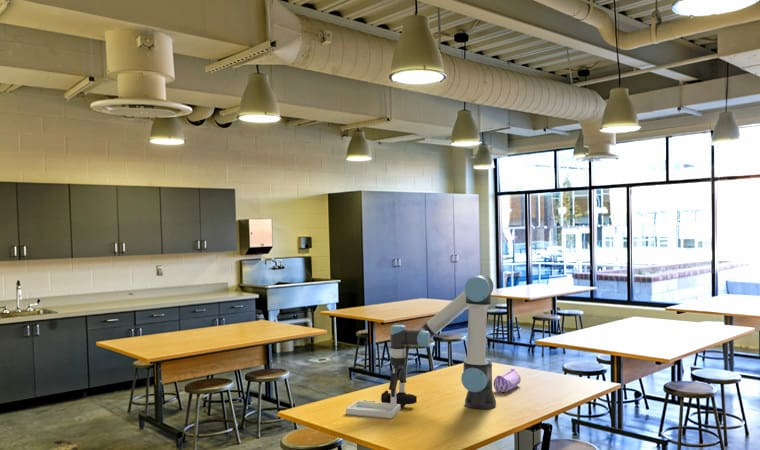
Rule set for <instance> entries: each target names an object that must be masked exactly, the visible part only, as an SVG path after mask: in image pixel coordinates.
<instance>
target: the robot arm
mask: <svg viewBox="0 0 760 450" xmlns="http://www.w3.org/2000/svg"><path fill="white" fill-rule="evenodd" d="M493 291H494V282H493V280H492V278H491V277H490V276H487V275H486V274H476V275H473V276H470V277H469V278H468V279H467V280H466V282H465V285H464V288H463V292H461V293H460V294H459V295H458V296H456V297H455V298H454V299H453V300H451V302H449V303H448V304H446V306H444V307H443V308H442V309H440V311H439V312H437V313H436V314H435V315H434V316H432V317H431V318H430V319H429V320H428V321H426V322H425V323H424V324H423V325H421V327H419V328H418V329H407V327H406V325H405V324H393V325H391V327H390V334H389V335H390V339H389V340H390V349H389V352H390V357H389V358H390V359H389V361H390V362H389V363H390V365H391V366H393V368H391V371H390V372H391V373H390V380H389V387H388V391H389V390H390V393H391V403H393V404H396V393H398V392H400V393H401V392H403V393H404V392H405V393H406V391H405V390H406V389H405V388H406V386H405V385H406V384H407V377H406V369H405V365H406V363H407V361H406V359H407V358H406V355H407V354H406V352H407V350H406V349H407V348H406V346H413V347H415V346H416V347H428V346H429V345H430V344H431V339H433V337H434V336H436V335H437V334H438V333H439V332H440V331H442V330H443V329H444V328H445V327H446V326H448V325H449V324H450V323H451V322H454V321H453V320H455V319H457V317H459V316H460V315H461V314H462V313H463V312H465V311H467V309H468V315H467V317H468V318H467V320H468V321H467V322H468V323H467V345H466V346H467V348H466V349H467V351H466V353H467V354H466V358H464V360H463V367H462V368H463V372H462V374H461V377H460V379H461V384H462V386H463V388H465V389H466V390H467V392H466V394H465V395H466V396H465V399H464V405H465V406H466V407H467V408H471V409H475V410H476V409H477V410H490V409H493V408H496V407H497V400H496V397H495V394H494V391H493V362H492V359H490V358H487V357H486V354H487V353H486V352H487V351H486V349H487V323H488V322H487V320H488V319H487V318H488V315H487V314H488V308H489V307H490V306H491V300H492V299H491V297H492V293H493ZM398 381H399V383H398ZM398 385H399V386H398ZM397 386H398V391H397ZM495 406H496V407H495Z"/></svg>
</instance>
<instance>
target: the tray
mask: <svg viewBox="0 0 760 450" xmlns="http://www.w3.org/2000/svg"><path fill="white" fill-rule="evenodd" d="M367 401H368V400H367ZM367 401H364V400H356V401H354V402H353V403H351V404H350V405H349V406H347V407H346V408H345V416H353V417H354V416H355V417H362V418H363V417H364V418H365V417H366V418H378V419H388V420H392V419H393V418H394V417H395V416H396V415H398V413H400V412H401V409H402V408H401V404H391V403H382V402H376V401H375V402H367Z"/></svg>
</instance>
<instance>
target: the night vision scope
mask: <svg viewBox="0 0 760 450" xmlns="http://www.w3.org/2000/svg"><path fill="white" fill-rule="evenodd" d="M417 398H418V397H417V395H415V394H412V393H411V394H410V393H406V391H405V392H404V393H403V392H401V393H400V392H399V391H397V392H396V404H401V409H404V407H405V406H406V405H413V404H414V405H415V404H417ZM380 401H381V402H380V403H391V392H389V390H385V391H383V392H382V393H381V396H380ZM391 404H393V403H391Z"/></svg>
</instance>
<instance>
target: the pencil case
mask: <svg viewBox="0 0 760 450" xmlns="http://www.w3.org/2000/svg"><path fill="white" fill-rule="evenodd" d="M521 380H522V378H521V376H520V374H519V373H518V372H517V371H516V369H514V368H511V369H510V370H508V372H506V373H505V374H502V375H496V377H495V378H494V380H493V388H494V390H495V391H496V392H497V393H499V392H504V393H507V392H509V391H510V390H513V389H514V388H516V387H517V386H518V384H519V385H520V384H521V382H522V381H521Z"/></svg>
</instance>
